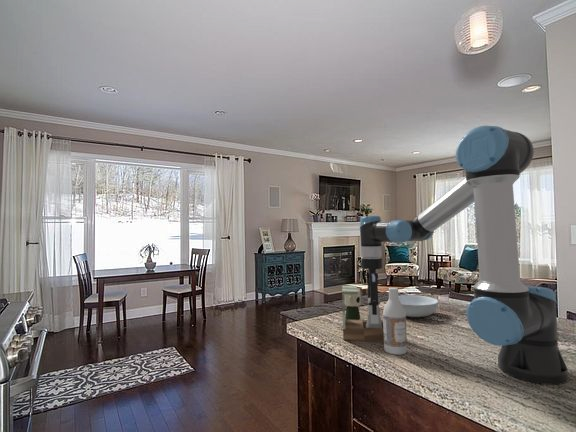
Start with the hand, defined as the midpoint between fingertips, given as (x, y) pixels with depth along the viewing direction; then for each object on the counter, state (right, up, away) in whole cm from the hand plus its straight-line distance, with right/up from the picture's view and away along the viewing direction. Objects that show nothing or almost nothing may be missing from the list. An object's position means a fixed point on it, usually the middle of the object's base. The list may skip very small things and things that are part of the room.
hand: (373, 319), depth 118 cm
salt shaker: (0, -5, 0) cm, 5 cm away
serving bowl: (+25, -7, +27) cm, 37 cm away
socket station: (-3, -6, 0) cm, 7 cm away
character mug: (-4, -7, +20) cm, 21 cm away
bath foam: (+3, -5, -15) cm, 16 cm away
